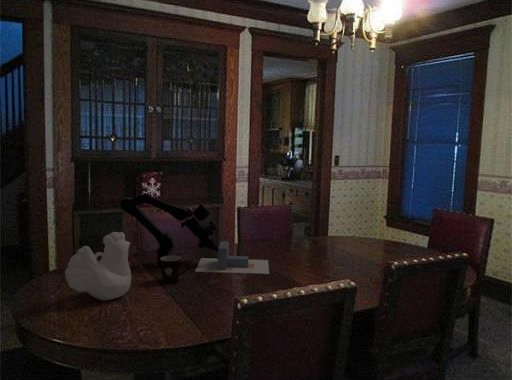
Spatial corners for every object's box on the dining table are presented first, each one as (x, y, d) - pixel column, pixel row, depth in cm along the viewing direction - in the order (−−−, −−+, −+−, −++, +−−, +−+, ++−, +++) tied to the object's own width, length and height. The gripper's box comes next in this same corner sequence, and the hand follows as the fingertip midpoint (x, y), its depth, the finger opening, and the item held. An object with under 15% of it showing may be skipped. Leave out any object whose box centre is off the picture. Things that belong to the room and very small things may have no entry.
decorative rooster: (123, 285, 174) (123, 226, 171) (138, 297, 162) (138, 233, 159) (58, 298, 159) (56, 233, 156) (69, 312, 147) (67, 242, 144)
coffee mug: (155, 282, 180) (155, 259, 179) (169, 276, 187) (169, 254, 186) (177, 287, 174) (178, 263, 173) (190, 281, 182) (190, 258, 181)
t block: (217, 269, 198) (218, 248, 197) (220, 260, 212) (220, 241, 211) (247, 270, 198) (248, 249, 197) (248, 261, 212) (249, 242, 211)
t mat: (194, 272, 194) (194, 271, 194) (201, 258, 216) (201, 258, 216) (269, 274, 194) (269, 273, 194) (268, 260, 216) (268, 260, 216)
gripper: (205, 220, 193) (229, 244, 195) (210, 213, 212) (232, 235, 213) (188, 236, 194) (212, 260, 195) (194, 228, 213) (216, 250, 214)
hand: (218, 251), depth 204 cm, fingers closed, pressing on t block
